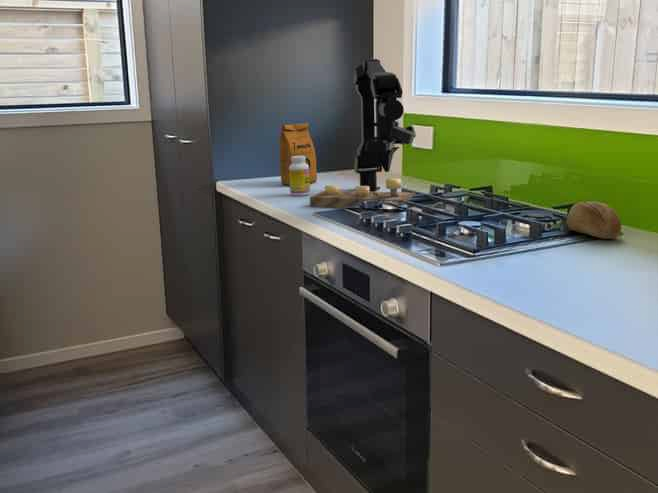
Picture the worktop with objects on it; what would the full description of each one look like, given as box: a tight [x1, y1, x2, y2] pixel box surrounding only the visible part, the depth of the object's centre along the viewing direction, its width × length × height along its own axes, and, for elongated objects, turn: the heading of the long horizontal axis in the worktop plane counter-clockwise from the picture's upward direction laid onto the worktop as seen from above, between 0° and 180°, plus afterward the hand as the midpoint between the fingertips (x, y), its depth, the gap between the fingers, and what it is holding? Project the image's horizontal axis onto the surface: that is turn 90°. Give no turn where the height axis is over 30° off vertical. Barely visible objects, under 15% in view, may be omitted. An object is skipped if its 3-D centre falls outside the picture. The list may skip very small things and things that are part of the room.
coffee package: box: [278, 122, 318, 186], centre depth 251 cm, size 10×12×22 cm
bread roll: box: [566, 200, 622, 240], centre depth 163 cm, size 10×15×8 cm, turn 19°
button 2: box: [385, 178, 402, 197], centre depth 206 cm, size 4×4×5 cm
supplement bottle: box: [289, 156, 311, 197], centre depth 231 cm, size 7×7×13 cm
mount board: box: [309, 189, 417, 209], centre depth 211 cm, size 30×12×3 cm, turn 67°
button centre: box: [354, 185, 370, 196], centre depth 210 cm, size 4×4×5 cm
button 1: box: [324, 184, 340, 195], centre depth 214 cm, size 4×4×5 cm
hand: (387, 171), depth 205 cm, fingers closed
